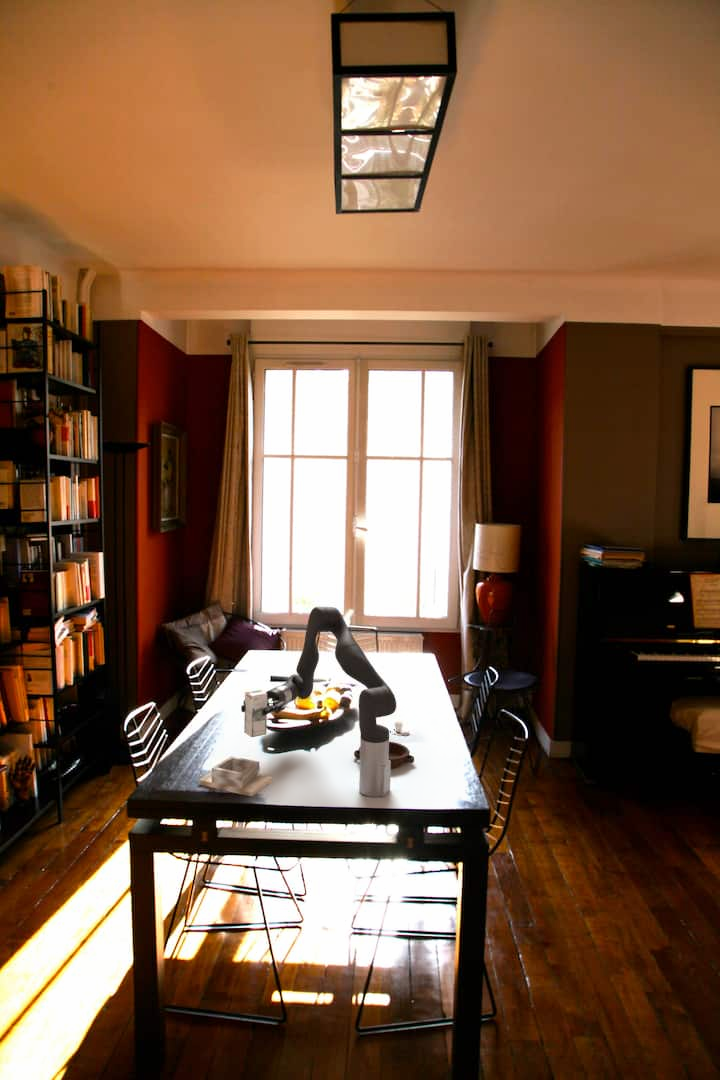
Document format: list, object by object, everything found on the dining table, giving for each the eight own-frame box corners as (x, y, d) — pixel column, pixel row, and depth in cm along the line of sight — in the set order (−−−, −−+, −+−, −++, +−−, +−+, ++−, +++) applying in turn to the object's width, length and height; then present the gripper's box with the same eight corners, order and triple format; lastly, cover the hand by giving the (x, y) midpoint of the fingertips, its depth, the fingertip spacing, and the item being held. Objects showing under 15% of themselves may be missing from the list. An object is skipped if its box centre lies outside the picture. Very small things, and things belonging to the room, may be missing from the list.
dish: (411, 776, 205) (412, 761, 205) (348, 769, 209) (349, 755, 209) (416, 756, 222) (416, 743, 222) (358, 751, 226) (358, 737, 226)
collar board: (271, 781, 198) (272, 763, 198) (251, 796, 187) (252, 777, 187) (221, 770, 206) (221, 753, 205) (199, 784, 194) (199, 766, 194)
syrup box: (259, 729, 209) (259, 688, 208) (267, 734, 204) (267, 692, 204) (244, 732, 206) (244, 691, 205) (251, 738, 201) (252, 695, 200)
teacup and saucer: (411, 736, 244) (411, 726, 244) (392, 737, 242) (393, 727, 242) (405, 728, 253) (405, 719, 252) (387, 729, 251) (387, 720, 251)
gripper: (260, 685, 220) (235, 697, 205) (294, 690, 215) (271, 702, 200) (260, 705, 221) (234, 718, 206) (294, 710, 215) (270, 725, 200)
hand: (252, 710), depth 203 cm, fingers closed on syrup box, 8 cm apart
